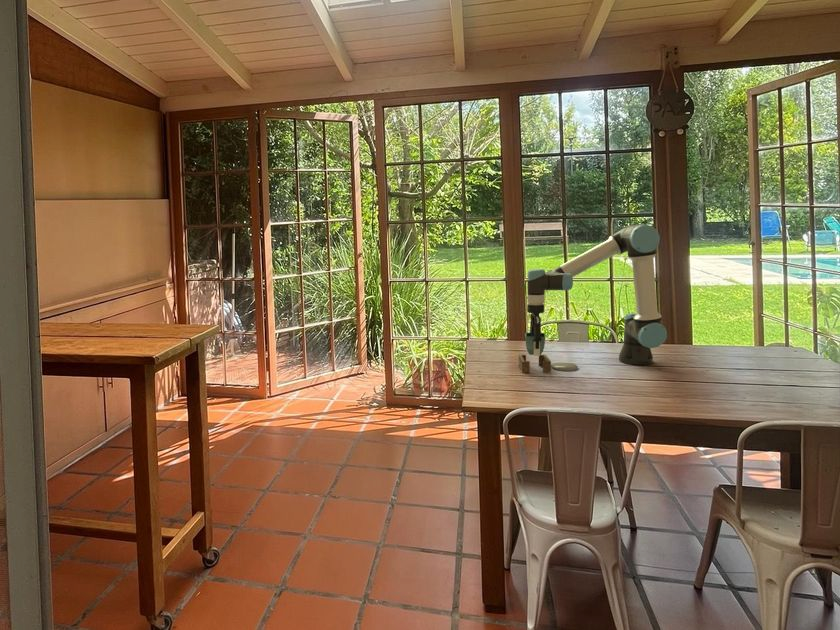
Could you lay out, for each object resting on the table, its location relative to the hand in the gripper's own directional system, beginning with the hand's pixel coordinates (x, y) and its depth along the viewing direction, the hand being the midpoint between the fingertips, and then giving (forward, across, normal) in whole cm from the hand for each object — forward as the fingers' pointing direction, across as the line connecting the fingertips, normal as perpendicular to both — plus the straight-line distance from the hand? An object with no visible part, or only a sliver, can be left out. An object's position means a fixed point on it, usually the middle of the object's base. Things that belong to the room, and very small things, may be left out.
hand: (535, 352), depth 241 cm
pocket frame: (+7, 0, 0) cm, 7 cm away
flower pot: (+1, 0, 0) cm, 1 cm away
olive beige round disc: (+8, -2, +14) cm, 16 cm away
